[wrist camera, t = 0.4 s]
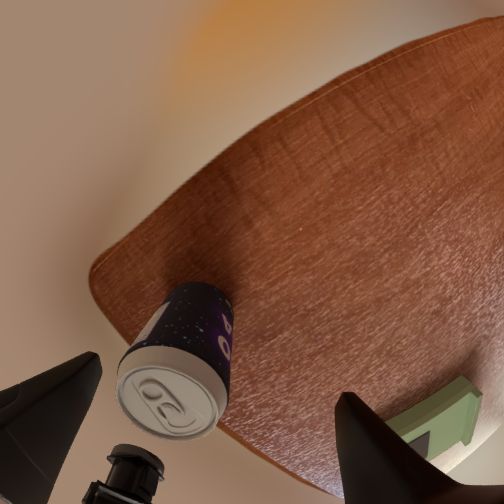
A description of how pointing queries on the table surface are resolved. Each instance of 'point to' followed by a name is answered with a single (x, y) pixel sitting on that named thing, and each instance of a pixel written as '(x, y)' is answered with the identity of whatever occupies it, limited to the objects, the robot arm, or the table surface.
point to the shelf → (440, 419)
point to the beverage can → (180, 365)
